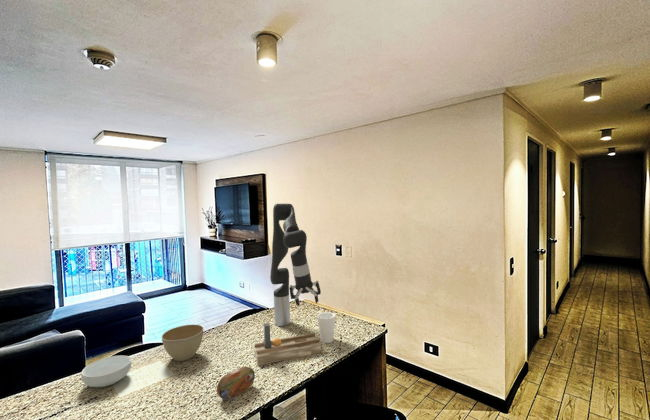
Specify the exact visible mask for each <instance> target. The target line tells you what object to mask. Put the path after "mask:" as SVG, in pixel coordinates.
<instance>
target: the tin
mask: <svg viewBox="0 0 650 420" xmlns="http://www.w3.org/2000/svg"><path fill="white" fill-rule="evenodd" d="M255 378H256V375H255V371H254V369H253V368H251V367H249V366H241V367H239V368H237V369H235V370H233V371H232V372H229V373H227V374H225V375H223V376H222V377H221V379H220V380H219V381H218V384H217V386H216V392H217V395H218V397H219V398H220V399H221V400H223V401H228V400H229V401H230V400H232V399H233V398H235V397H238V396H239V395H240V394H242V393H244V392H246V391H247V390H249V389H251V387H252V386H253V384H254V381H255Z"/></svg>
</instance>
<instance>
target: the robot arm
mask: <svg viewBox="0 0 650 420" xmlns="http://www.w3.org/2000/svg"><path fill="white" fill-rule="evenodd" d="M272 217H273V221H272V222H273V224H272V226H273V230H272V233H273V234H272V243H271V244H272V246H271V247H272V248H271V254H272V255H271V267H270V277H269V278H270V282H271V284H272V285H275V286H277V285H281V286H279V287H278V288H276V289H274V290H273V310H274V311H273V312H274V313H273V314H274V316H273V317H274V325H275V326H277V327H285V326H288V325H290V324H291V310H290V308H291V307H290V300H295V305H296V306H297V307H300V298H299V297H300V295H301V294H302V295H303V294H308V293H310V294H312V295H313V296H314V302H315V304H318V303H319V296H318V295H321V294H322V291H321V287H320V282H319V280H316V281H314V282H313V281H312V277H311V273H310V267H309V264H308V263H309V262H308V259H307V249H306V248H307V239H308V238H307V237H308V235H307V233H306V232H305V231H304V230H303V229H300V227H299V225H298V223H297V219H296V212H295V208H294V205H293V204H291V203H275V204H274V205H273V209H272ZM280 221H284V222H283V224H282V227H281V224H280ZM296 247H298V248H297V249H296V250H293V251H292V252H291V253H290V259H291V266H292V273H293V274H292V275H293V278H294V283H295V284H294V285H292V284H291V285H290V271H289V269H288V268H287V267H281V268H279V267H280V264H281V262H282V261H283V260H284V259H285V257H286V256H287V254H288V252H289V249H291V248H296ZM313 287H315V288H316V290H317V291H316V290H315V289H314V288H313ZM295 290H297V291H296V293H295V294H294V291H295Z"/></svg>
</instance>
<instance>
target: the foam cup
mask: <svg viewBox="0 0 650 420" xmlns="http://www.w3.org/2000/svg"><path fill="white" fill-rule="evenodd" d="M316 317H317V318H316V319H317V325H318V330H319V335H320V341H321V342H322V343H323V344H324V343H325V344H330V343H333V342H334V335H335V325H336V314H335V313H333V312H330V311H329V312H326V311H324V312H320V313H318V314H317V316H316Z"/></svg>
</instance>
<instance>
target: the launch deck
mask: <svg viewBox="0 0 650 420" xmlns="http://www.w3.org/2000/svg"><path fill="white" fill-rule="evenodd" d="M279 339H280V340H281V345H280V346H276V347H275V346H274V345H273V340H270V341H271V348H266V349H264V341H263V342H262V341H261V342H258V343H254V348H253V349H254V351H253V352H254V356H255V361H256V363H257V364H256V365H257V366H263V365H266V364H267V365H268V364H271V363H272V364H273V363H276V362H281V361H282V362H283V361H285V360H286V361H287V360H290V359H297V358H301V357H305V356H310V355H315V354H321V353H322V344H321V342H320V341H321V338H317V337H316V333H315V332H312V333H307V334H301V335H295V336H290V337H284V338H279Z"/></svg>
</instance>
